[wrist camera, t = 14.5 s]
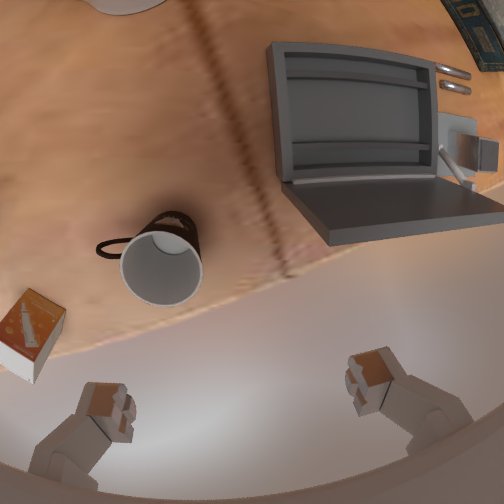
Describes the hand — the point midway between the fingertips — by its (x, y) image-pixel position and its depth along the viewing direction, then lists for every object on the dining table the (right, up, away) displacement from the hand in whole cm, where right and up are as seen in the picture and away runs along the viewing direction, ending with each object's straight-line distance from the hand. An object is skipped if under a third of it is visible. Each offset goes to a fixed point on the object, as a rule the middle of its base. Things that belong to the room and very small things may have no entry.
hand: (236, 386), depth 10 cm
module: (+33, +21, +26) cm, 47 cm away
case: (+14, +23, +23) cm, 35 cm away
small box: (-35, -5, +31) cm, 47 cm away
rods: (+31, +31, +21) cm, 49 cm away
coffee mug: (-11, +8, +28) cm, 31 cm away
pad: (+33, +22, +26) cm, 47 cm away
